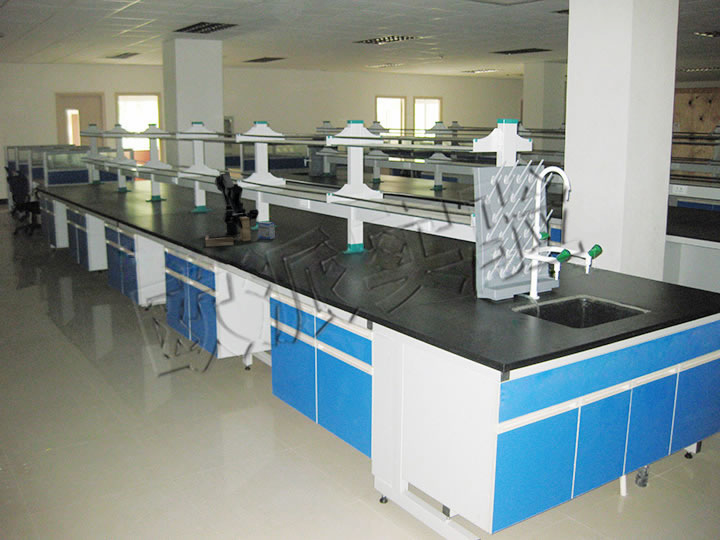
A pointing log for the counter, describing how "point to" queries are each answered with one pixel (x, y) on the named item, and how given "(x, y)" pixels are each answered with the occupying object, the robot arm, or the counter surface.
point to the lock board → (218, 241)
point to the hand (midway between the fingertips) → (246, 228)
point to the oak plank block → (245, 229)
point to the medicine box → (266, 230)
